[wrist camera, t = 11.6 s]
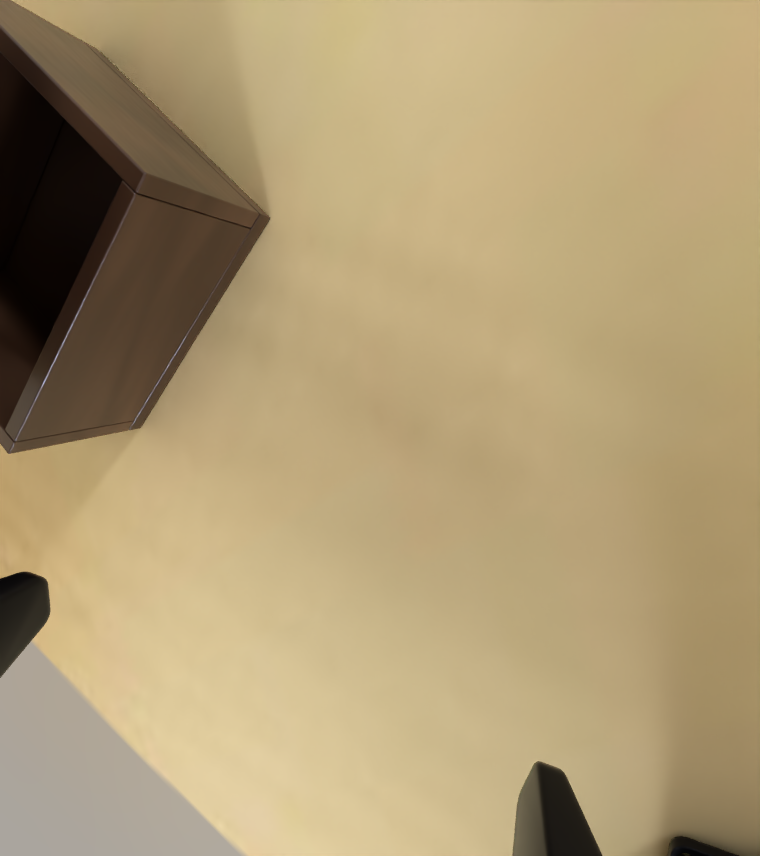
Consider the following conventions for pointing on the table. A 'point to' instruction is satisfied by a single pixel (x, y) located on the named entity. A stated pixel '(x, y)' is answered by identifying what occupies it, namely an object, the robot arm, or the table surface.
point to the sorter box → (99, 240)
